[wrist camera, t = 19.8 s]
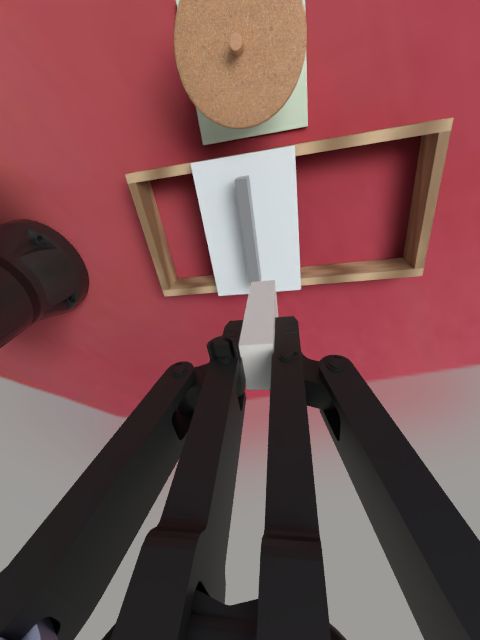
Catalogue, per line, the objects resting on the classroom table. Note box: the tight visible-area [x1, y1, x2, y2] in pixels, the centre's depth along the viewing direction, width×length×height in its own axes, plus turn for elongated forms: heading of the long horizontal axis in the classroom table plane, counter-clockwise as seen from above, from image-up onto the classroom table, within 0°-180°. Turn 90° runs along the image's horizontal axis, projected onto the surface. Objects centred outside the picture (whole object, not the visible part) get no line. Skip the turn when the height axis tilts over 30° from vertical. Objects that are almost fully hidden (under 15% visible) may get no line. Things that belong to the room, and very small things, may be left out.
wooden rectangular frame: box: [125, 118, 453, 297], centre depth 35 cm, size 34×16×4 cm, turn 99°
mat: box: [176, 0, 308, 145], centre depth 29 cm, size 12×12×1 cm
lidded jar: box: [174, 0, 307, 129], centre depth 25 cm, size 11×11×9 cm
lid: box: [190, 145, 301, 296], centre depth 33 cm, size 11×16×3 cm
